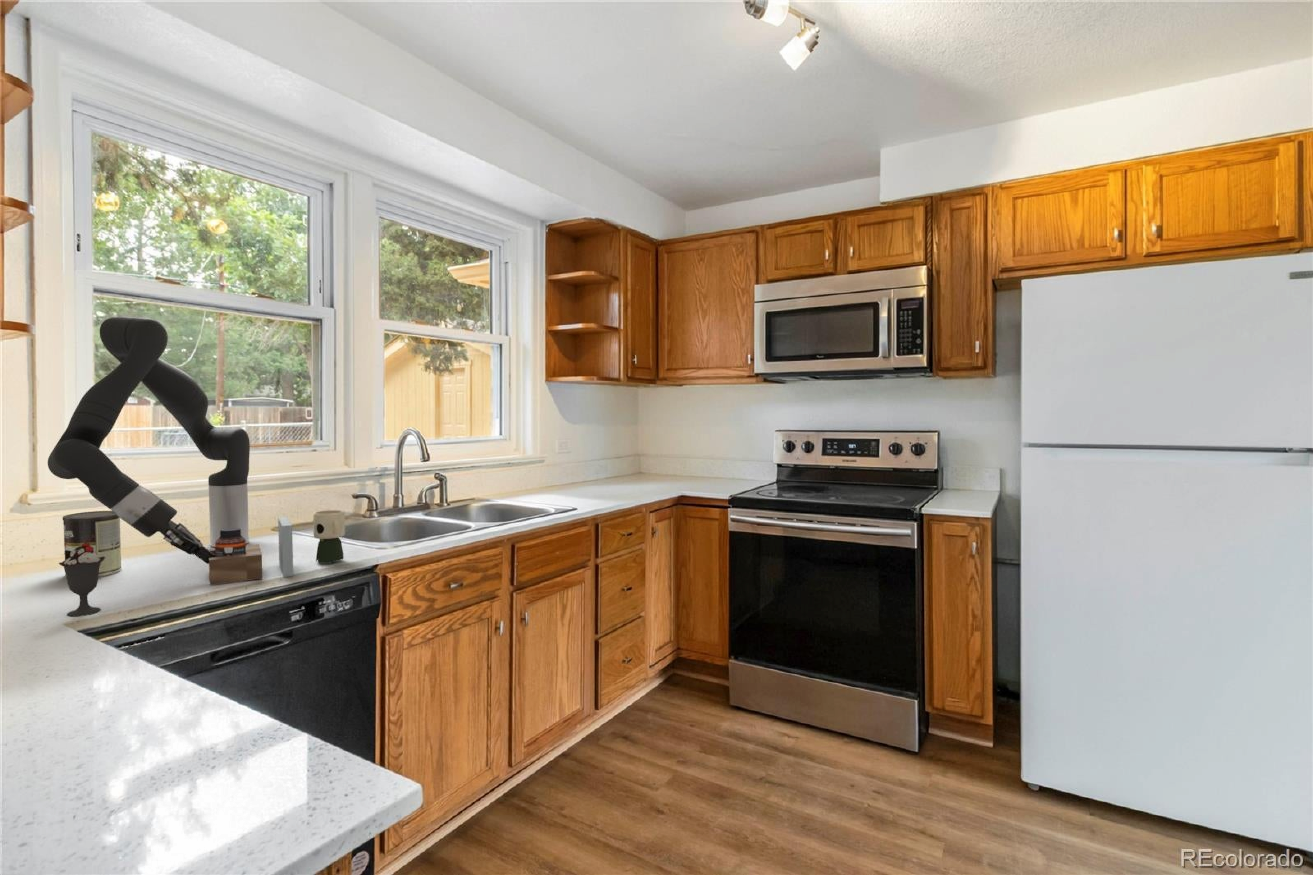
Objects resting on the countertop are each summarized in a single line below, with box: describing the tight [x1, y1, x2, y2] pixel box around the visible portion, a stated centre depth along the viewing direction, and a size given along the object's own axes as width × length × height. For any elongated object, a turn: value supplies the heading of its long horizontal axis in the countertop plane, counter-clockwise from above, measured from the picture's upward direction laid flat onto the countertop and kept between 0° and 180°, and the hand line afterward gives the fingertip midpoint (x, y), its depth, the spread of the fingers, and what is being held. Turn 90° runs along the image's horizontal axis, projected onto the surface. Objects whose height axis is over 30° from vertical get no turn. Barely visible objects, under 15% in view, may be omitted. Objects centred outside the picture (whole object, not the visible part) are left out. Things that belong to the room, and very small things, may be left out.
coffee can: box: [62, 510, 123, 578], centre depth 153 cm, size 10×10×14 cm
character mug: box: [312, 509, 346, 564], centre depth 165 cm, size 11×7×13 cm, turn 46°
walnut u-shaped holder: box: [208, 543, 263, 586], centre depth 151 cm, size 13×10×6 cm
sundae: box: [58, 535, 105, 617], centre depth 125 cm, size 7×7×15 cm
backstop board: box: [277, 516, 294, 578], centre depth 157 cm, size 13×2×12 cm, turn 34°
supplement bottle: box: [214, 528, 247, 557], centre depth 150 cm, size 6×6×11 cm
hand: (212, 560), depth 148 cm, fingers closed
